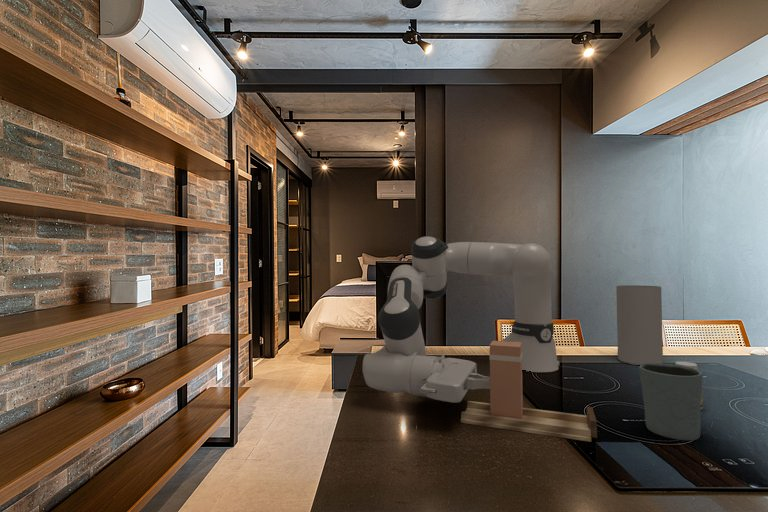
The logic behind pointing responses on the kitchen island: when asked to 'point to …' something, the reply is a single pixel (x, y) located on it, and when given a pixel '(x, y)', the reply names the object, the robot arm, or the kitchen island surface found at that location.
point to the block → (506, 379)
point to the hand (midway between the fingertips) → (491, 383)
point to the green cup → (672, 400)
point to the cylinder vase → (639, 324)
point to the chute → (535, 421)
